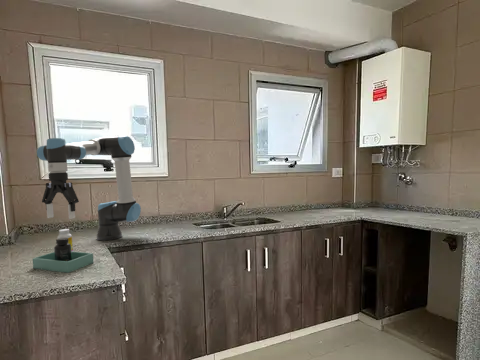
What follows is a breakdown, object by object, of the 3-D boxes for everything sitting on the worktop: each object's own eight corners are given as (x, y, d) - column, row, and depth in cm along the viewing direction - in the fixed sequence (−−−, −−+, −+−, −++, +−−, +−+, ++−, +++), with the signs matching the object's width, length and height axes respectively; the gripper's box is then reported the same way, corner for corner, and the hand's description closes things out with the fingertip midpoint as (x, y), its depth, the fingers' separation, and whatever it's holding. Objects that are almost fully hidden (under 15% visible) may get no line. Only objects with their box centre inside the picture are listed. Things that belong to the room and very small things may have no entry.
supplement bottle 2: (75, 261, 142) (73, 236, 141) (67, 266, 135) (65, 240, 134) (60, 262, 142) (59, 237, 141) (51, 267, 135) (50, 240, 134)
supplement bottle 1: (75, 251, 162) (74, 228, 161) (68, 255, 155) (67, 230, 154) (62, 252, 161) (61, 228, 161) (55, 255, 155) (54, 231, 154)
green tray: (60, 259, 148) (59, 250, 148) (93, 262, 141) (92, 253, 141) (33, 268, 136) (32, 258, 135) (68, 272, 128) (67, 262, 128)
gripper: (31, 173, 137) (34, 218, 138) (71, 171, 128) (74, 220, 130) (46, 172, 144) (49, 215, 145) (85, 171, 135) (88, 217, 137)
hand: (61, 218), depth 137 cm, fingers open, 13 cm apart
